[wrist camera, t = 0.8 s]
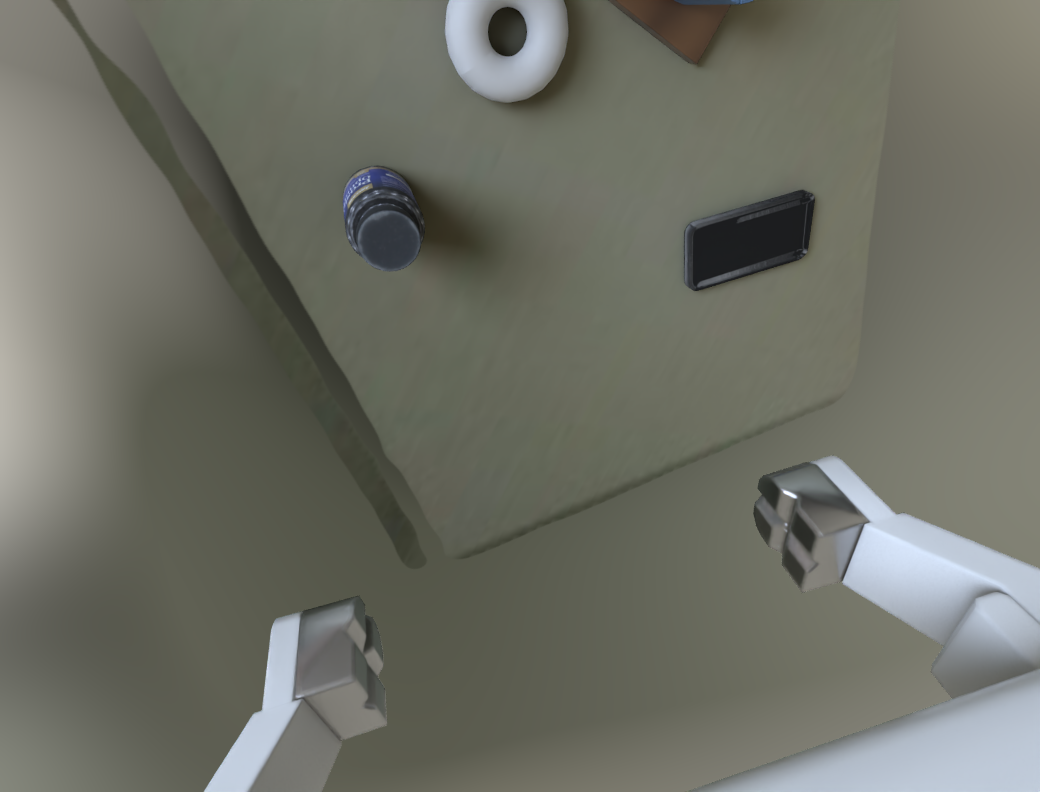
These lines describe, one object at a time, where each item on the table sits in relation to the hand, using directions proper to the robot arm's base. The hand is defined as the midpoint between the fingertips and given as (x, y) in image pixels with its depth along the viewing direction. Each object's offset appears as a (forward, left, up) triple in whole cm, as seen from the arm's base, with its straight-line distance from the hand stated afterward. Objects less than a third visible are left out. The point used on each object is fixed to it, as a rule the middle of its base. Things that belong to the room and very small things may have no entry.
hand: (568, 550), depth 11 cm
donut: (-5, +12, -47) cm, 48 cm away
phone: (+20, +35, -46) cm, 61 cm away
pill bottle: (+5, -2, -47) cm, 47 cm away
